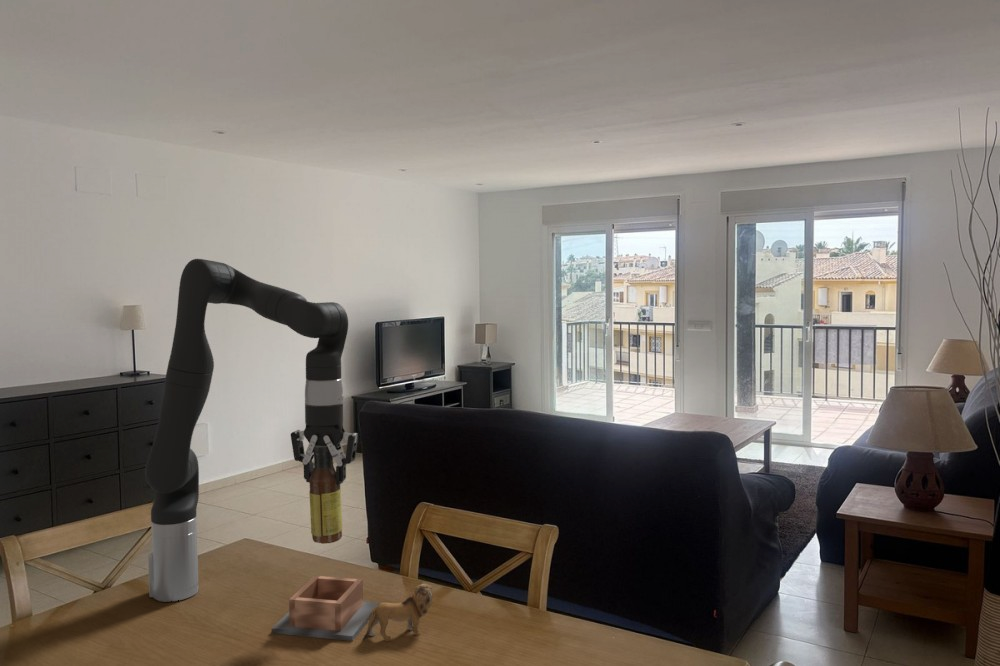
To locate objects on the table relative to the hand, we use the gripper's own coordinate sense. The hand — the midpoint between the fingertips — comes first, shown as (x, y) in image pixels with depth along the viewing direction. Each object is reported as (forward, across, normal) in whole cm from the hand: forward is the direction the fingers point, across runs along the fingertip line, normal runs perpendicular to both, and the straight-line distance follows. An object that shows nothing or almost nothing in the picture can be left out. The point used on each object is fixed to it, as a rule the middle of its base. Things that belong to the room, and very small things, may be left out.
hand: (325, 482), depth 147 cm
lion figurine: (+29, +17, -3) cm, 34 cm away
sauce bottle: (+12, 0, 0) cm, 12 cm away
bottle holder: (+29, 0, 0) cm, 29 cm away
